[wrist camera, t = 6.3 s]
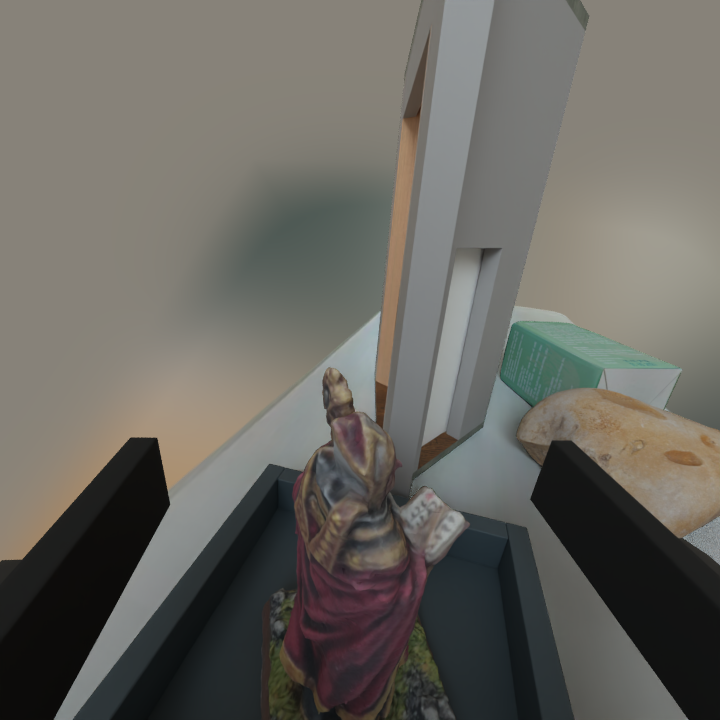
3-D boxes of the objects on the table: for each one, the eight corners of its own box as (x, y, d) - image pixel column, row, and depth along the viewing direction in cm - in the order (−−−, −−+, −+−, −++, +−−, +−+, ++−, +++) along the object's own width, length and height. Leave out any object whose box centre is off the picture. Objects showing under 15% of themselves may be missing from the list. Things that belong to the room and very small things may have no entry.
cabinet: (374, 372, 39) (404, 73, 28) (456, 378, 39) (518, 82, 28) (377, 520, 20) (476, -244, 9) (539, 533, 20) (836, -216, 9)
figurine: (255, 865, 9) (203, 546, 4) (262, 601, 14) (245, 344, 10) (474, 783, 10) (628, 483, 5) (401, 574, 16) (445, 341, 11)
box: (551, 377, 42) (570, 319, 39) (649, 446, 29) (689, 369, 26) (496, 376, 41) (511, 317, 38) (574, 448, 28) (606, 368, 25)
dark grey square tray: (-19, 942, 8) (-74, 906, 7) (270, 501, 20) (269, 463, 19) (660, 1419, 5) (770, 1502, 4) (511, 568, 18) (527, 527, 16)
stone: (698, 439, 26) (810, 404, 19) (706, 589, 22) (853, 614, 15) (518, 387, 30) (556, 341, 23) (494, 508, 25) (532, 498, 18)
